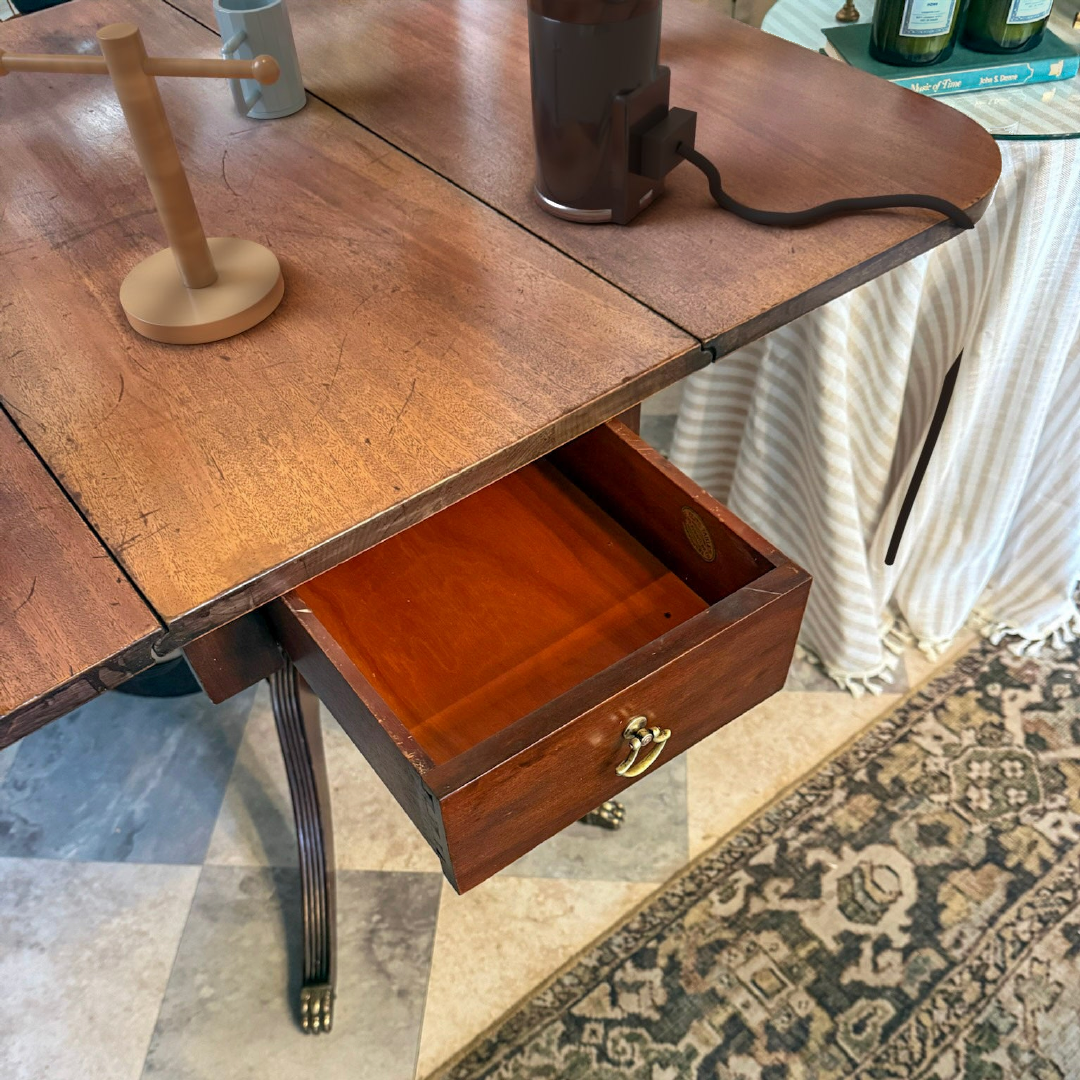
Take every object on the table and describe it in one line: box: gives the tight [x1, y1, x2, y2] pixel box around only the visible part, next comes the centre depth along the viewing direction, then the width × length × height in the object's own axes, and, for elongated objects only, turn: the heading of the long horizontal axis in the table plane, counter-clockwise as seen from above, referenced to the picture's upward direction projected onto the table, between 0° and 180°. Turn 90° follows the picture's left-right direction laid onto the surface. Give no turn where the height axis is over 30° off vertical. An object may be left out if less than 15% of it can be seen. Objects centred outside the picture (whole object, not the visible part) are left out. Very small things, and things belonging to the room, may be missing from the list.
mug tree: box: [0, 22, 285, 345], centre depth 64 cm, size 19×11×18 cm, turn 81°
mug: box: [212, 0, 307, 120], centre depth 87 cm, size 10×6×9 cm, turn 171°
